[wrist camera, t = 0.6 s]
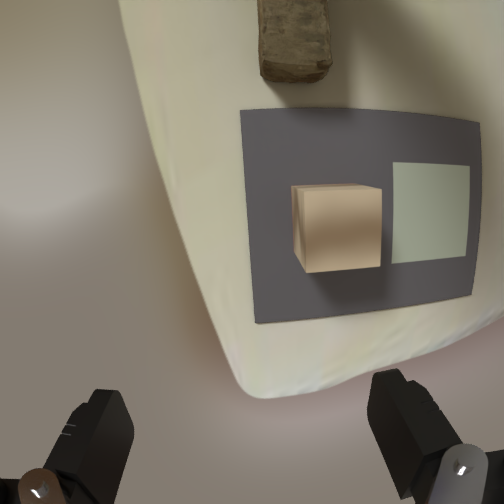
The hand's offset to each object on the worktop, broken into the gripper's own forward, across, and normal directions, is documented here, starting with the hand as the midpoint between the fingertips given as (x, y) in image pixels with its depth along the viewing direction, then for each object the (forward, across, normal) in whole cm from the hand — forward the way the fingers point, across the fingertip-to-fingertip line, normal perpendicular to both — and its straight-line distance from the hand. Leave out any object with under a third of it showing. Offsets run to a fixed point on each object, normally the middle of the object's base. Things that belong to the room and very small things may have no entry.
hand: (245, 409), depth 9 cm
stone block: (+22, -6, -19) cm, 30 cm away
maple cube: (+21, -8, -1) cm, 22 cm away
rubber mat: (+21, -14, -1) cm, 25 cm away
